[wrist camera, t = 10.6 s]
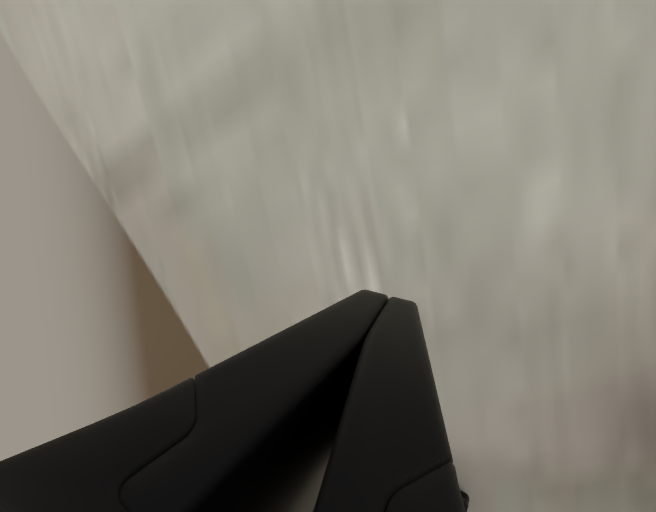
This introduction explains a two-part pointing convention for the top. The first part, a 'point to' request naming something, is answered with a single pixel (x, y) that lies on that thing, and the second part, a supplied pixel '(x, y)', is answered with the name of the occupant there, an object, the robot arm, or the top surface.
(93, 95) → the top surface
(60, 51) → the top surface
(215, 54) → the top surface
